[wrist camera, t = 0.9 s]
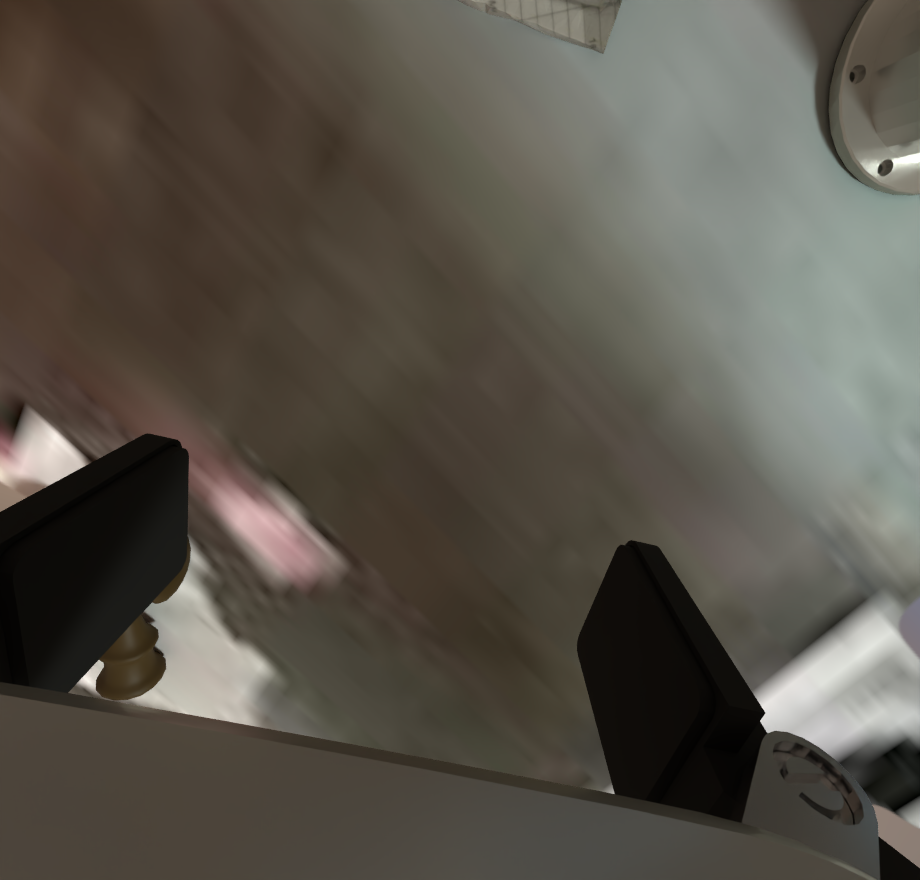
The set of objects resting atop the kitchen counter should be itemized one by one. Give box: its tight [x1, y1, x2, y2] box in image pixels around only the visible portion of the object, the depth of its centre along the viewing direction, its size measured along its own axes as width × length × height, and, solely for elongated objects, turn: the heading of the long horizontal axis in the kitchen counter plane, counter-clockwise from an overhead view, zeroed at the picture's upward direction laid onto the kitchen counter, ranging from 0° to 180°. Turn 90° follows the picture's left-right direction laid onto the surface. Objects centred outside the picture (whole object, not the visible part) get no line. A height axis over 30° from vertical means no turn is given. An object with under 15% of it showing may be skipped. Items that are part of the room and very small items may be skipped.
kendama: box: [96, 536, 191, 700], centre depth 38 cm, size 6×10×20 cm
